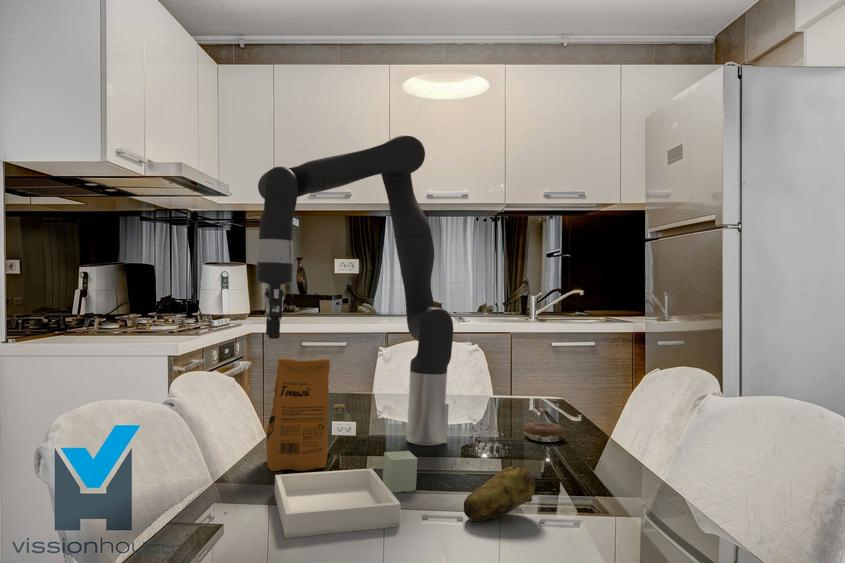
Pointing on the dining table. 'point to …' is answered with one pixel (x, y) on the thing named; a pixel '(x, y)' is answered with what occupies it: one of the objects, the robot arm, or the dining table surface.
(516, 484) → the potato
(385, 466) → the green cube
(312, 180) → the robot arm
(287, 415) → the coffee package
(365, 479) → the bin
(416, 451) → the dining table surface
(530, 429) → the donut
